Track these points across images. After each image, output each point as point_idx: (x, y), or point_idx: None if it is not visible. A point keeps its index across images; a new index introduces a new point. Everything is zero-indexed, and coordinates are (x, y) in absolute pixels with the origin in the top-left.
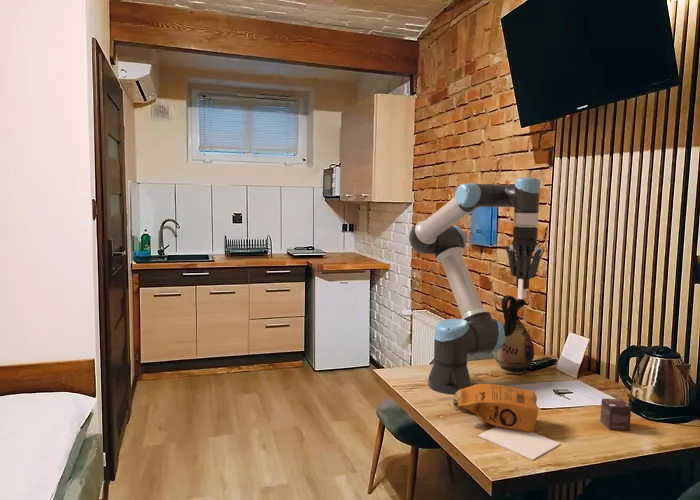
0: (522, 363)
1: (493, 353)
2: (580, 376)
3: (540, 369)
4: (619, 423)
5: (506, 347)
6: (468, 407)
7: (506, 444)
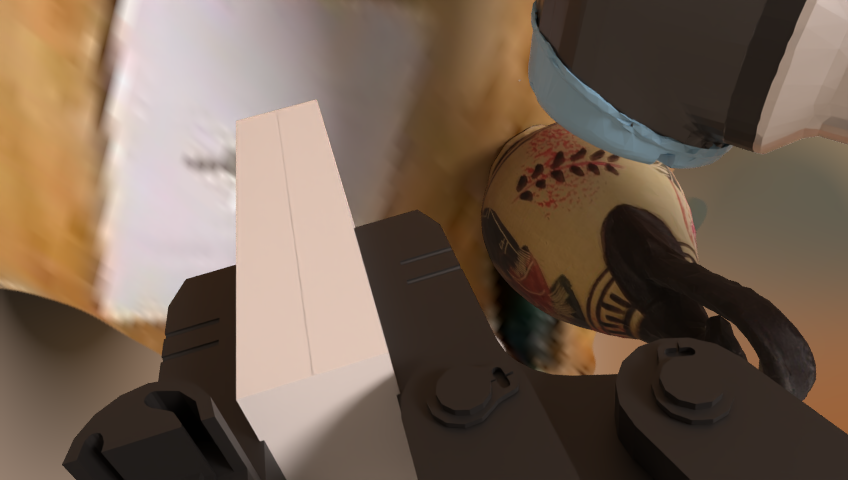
0: (488, 188)
1: None
2: None
3: (488, 275)
4: None
5: (573, 166)
6: None
7: None
